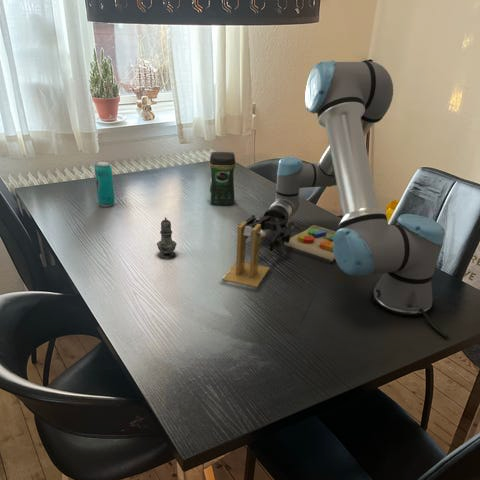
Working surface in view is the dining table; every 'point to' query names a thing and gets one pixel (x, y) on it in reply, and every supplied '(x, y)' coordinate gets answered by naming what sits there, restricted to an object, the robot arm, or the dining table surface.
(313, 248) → the puzzle board
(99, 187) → the beverage can
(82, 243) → the dining table surface
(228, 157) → the coffee jar
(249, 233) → the tap lever
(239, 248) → the wooden lever stand
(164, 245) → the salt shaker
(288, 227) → the robot arm
